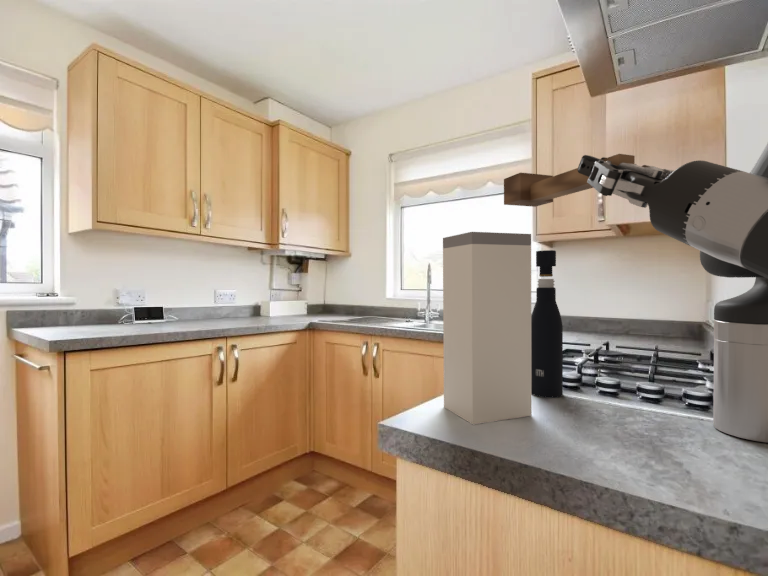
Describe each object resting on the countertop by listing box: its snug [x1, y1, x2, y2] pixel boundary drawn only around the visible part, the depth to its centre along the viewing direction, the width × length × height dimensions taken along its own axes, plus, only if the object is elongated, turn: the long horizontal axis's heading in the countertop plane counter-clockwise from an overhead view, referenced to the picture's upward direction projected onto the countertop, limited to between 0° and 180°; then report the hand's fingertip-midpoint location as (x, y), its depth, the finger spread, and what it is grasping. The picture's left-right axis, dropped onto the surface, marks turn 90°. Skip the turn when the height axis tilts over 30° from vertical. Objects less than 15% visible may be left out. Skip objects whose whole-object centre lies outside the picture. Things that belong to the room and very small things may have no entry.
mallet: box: [503, 153, 636, 208], centre depth 56 cm, size 19×6×4 cm, turn 19°
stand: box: [442, 231, 533, 425], centre depth 74 cm, size 10×12×32 cm
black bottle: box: [531, 249, 564, 399], centre depth 85 cm, size 6×6×30 cm
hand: (591, 164), depth 51 cm, fingers closed on mallet, 2 cm apart
